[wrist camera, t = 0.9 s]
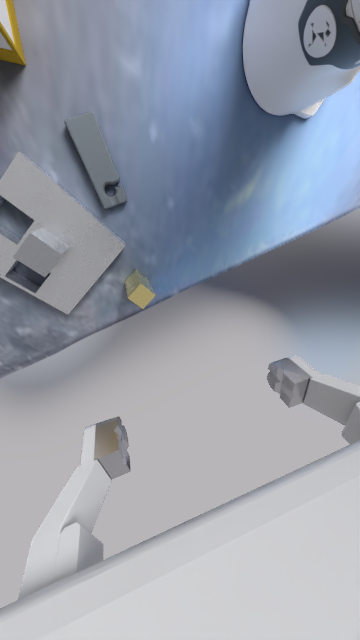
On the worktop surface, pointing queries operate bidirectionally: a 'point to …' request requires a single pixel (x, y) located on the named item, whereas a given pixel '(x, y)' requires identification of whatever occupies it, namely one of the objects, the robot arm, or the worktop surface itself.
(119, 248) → the square plinth with cube
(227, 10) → the worktop surface
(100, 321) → the worktop surface
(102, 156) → the bracket
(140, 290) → the yellow rectangular block
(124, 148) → the worktop surface
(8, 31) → the soap bottle
